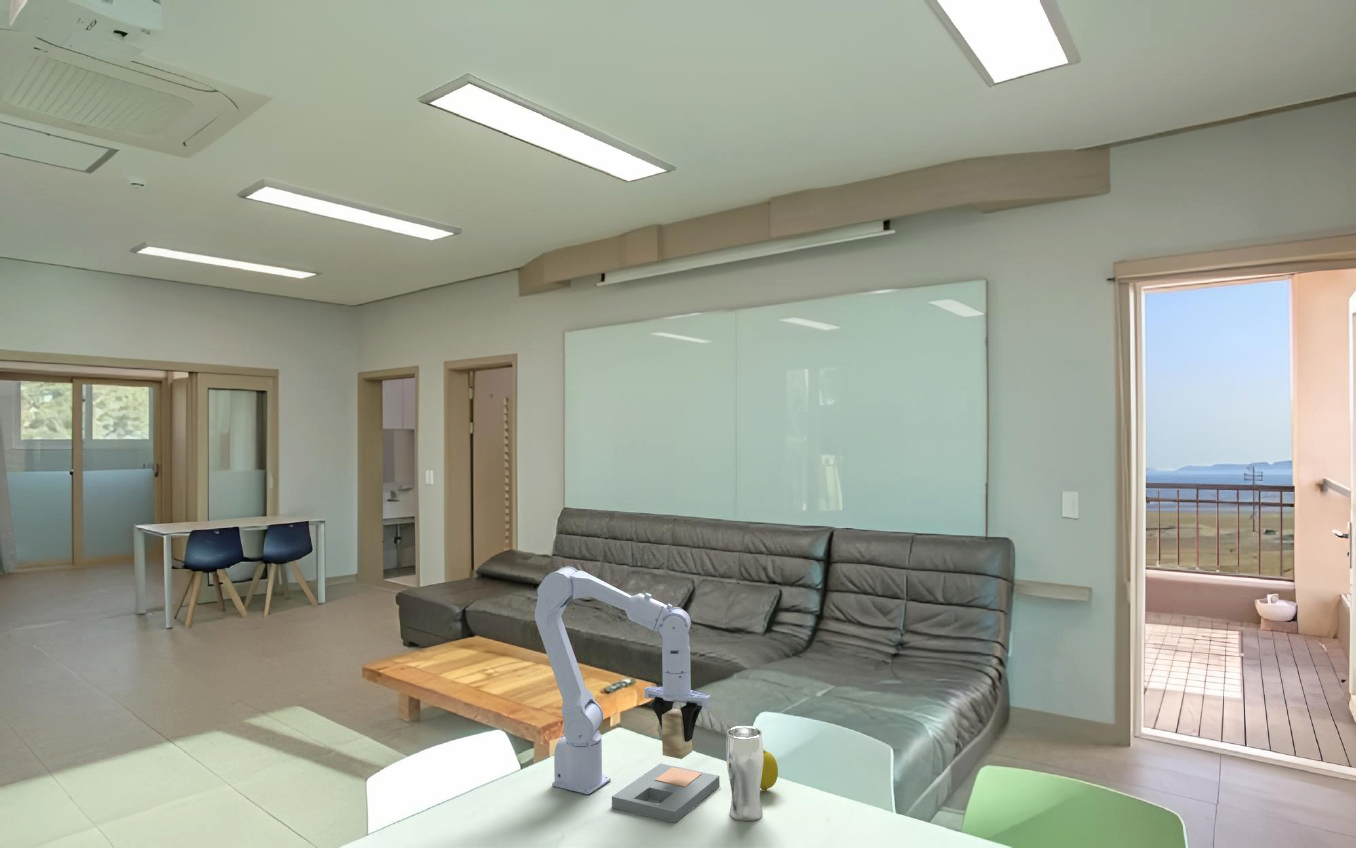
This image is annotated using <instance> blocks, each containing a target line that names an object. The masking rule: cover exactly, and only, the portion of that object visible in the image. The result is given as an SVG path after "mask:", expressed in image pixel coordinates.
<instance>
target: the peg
mask: <svg viewBox="0 0 1356 848" xmlns="http://www.w3.org/2000/svg"><path fill="white" fill-rule="evenodd" d="M661 733H662V735H661V737H662V738H661V739H662V745H661V746H662V756H664V757H670V758H674V759H678V760H679V759H680V760H682V759H684V758H686V757H687V756H688V755H690V754H691V753H693V738H692V739H691V740H690V741H688V742H685V740H684V724H683V718H682V713H681V710H680V709H678V708H672V709H671V710H669V711H668V712H666V713H664V714H663V715H662V729H661Z"/></svg>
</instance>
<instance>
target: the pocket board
mask: <svg viewBox="0 0 1356 848" xmlns="http://www.w3.org/2000/svg"><path fill="white" fill-rule="evenodd" d="M720 784H721V783H720V775H716V774H712V773H708V772H705V771H699V770H694V769H688V768H683V767H679V766H674V765H670V764H665V763H661V762H660V763H659V764H657V765H656V766H654V767H653V768H651V769H650V770H648V771H647V772H645V773H644V774H643V775H641V776H639V778H636V779H635V780H633V781H632V782H631V783H630V784H628V785H627V786H625V787H623V788H622V789H620V790H619V791H617V792H616V793H615V794H613V795H612V796H611V808H614V809H617V810H622V811H626V812H629V813H633V814H637V815H641V816H645V817H649V818H653V819H657V820H661V821H666V822H669V823H673V824H677V822H678V821H679V820H681V819H682V818H683V817H685V815H687V814H688V813H689V812H690V811H692V810H693V809H694V808H695V807H696V806H698V805H699V804H700V803H701V802H702V801H703V800H704V799H705V798H707V797H708V796H709V795H710V794H712V793H713V792H714V791H715V790H716V789H718V788H719V787H720V786H721V785H720ZM648 799H653V800H658V801H661V802H660V803H659V804H658V803H653V802H649V801H647V800H648Z"/></svg>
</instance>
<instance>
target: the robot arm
mask: <svg viewBox="0 0 1356 848" xmlns="http://www.w3.org/2000/svg"><path fill="white" fill-rule="evenodd" d="M587 597H591V598H593V599H595V600H597V601H600V602H603V603H605V604H607V605H611V606H612V607H615V608H618V609H621V610H622V611H625V613H626V616H627V618H628V620H630V621H632V622H634V623H636V624H639V625H641V626H643V627H644V628H645V627H646V628H647V629H649V630H652V631H654V632H659V633H660V636H661V637H662V648H661V653H662V654H661V657H662V661H661V662H662V664H661V665H662V686H651V685H649V686H647V687H645V688H644V690H643V691H644V692H643V693H644V699H651V698H652V699H654V701H653V702H652V703H651V709H653V711H654V713H655V716H656V717H657V719H658V720H657V721H658V722H659V726H660V728H661V730H662V715H663V714H664V713H666V712H668V711H669V710H671V709H673V707H674V703H675V702H676V703H683V704H684V705H683V706H681V707H680V708H679V710H681V713H682V718H683V724H684V740H685V742H688V741H690V740H691V739H692V740H693V735H694V732H695V731H694V730H695V726H696V723H697V721H698V718H699V715H700V714H701V710H702V708H703V709H704V708H705V709H706V708H708V707H711V705H712V699H711V698H712V697H711V695H710V694H705V693H701V692H699V691H695V690H692V687H691V685H692V684H691V683H692V679H691V677H692V676H691V675H692V674H691V647H690V634H689V631H690V629H691V624H692V621H691V617H690V614H688V612H687V611H686V610H684V609H683V608H682V607H679V606H677V607H676V606H675V607H674V606H673V605H672V604H670V603H667V604H665V603H663V602H661V601H660V600H656V599H654V598H652V594H651V593H648V592H645V593H644V594H643V593H641V592H640V593H636V594H634V595H630V594H629V593H627V592H625V591H623V590H621V589H619V588H617V587H615V586H613V585H611V584H609V583H607V582H606V581H603V580H601V579H600V578H598V577H596V576H594V575H591V574H590V573H588V572H586V571H584V570H578V569H577V568H575V567H572V566H563V567H561V568H559V569H558V570H556V571H554V572H550V573H549V574H547V575H546V576H545V577H544V578H543V580H542V581H541V583H540V584H539V586H538V588H537V600H536V606H535V611H534V620H535V624H536V627H537V630H538V632H539V635H540V638H541V640H542V643H543V647H544V650H545V652H546V655H547V659H548V661H549V663H550V667H551V670H552V672H553V676H554V678H555V682H556V684H557V687H558V690H559V692H560V693H559V694H560V696H561V698H562V702H561V703H562V705H561V714H562V717H563V729H562V730H563V736H562V737H560V738H559V740H558V741H557V742H556V745H555V748H554V754H553V756H554V757H553V759H554V761H553V762H554V763H553V764H554V765H553V767H554V773H553V774H554V775H553V776H554V781H553V782H552V783H551V786H553V787H557V788H561V789H565V790H568V791H572V792H578V793H581V794H585V795H590V794H591V793H594V792H595V791H596V790H598V789H599V788H601V787H603V786H605V784H607V783H609V782H610V781H612V778H611V777H610V776H605V775H603V757H602V756H603V755H602V754H603V753H602V752H603V750H602V749H603V747H602V745H603V742H602V741H603V740H602V734H601V732H600V729H599V727H600V726H601V725H602V723H603V721H604V711H603V709H602V706H601V705H600V704H599V703H598V702H597V701H596V700H595V698H594V695H593V693H592V691H590V690H589V689H588V688H587V687H586V684H585V682H584V678H583V676H582V675H583V674H582V672H581V670H580V667H579V664H578V661H577V658H576V656H575V653H574V650H573V646H572V644H571V642H570V641H571V640H570V638H569V636H568V633H567V629H566V627H565V624H564V621H563V618H562V615H563V613H564V611H565V609H566V607H567V605H568V603H569V602H570V601H571V599H573V600H577V599H582V598H587Z"/></svg>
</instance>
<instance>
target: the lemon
mask: <svg viewBox="0 0 1356 848" xmlns="http://www.w3.org/2000/svg"><path fill="white" fill-rule="evenodd" d="M778 776H779V768H778V762H777V760H776V758H775V756H774V755H773V754H772V753H771V752H769V751H766V749H763V772H762V779H761V786H760V790H762V791H763V792H766V791H767V790H768V789H770V788H772V787H773V786H774V785H776V783H777V780H778V778H779V777H778Z"/></svg>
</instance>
